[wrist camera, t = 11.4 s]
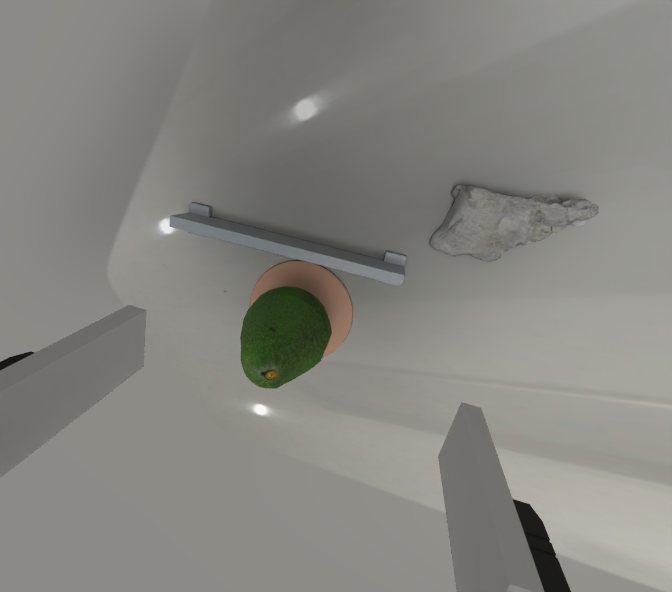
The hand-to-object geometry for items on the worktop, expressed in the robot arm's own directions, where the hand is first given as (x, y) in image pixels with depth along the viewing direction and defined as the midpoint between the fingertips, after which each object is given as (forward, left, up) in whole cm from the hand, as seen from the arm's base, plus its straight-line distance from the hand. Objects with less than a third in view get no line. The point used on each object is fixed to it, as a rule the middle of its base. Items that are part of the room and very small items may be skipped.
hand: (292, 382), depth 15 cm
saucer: (+7, -4, -23) cm, 24 cm away
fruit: (+7, -4, -23) cm, 24 cm away
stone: (-7, +12, -24) cm, 27 cm away
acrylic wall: (0, -6, -23) cm, 24 cm away
